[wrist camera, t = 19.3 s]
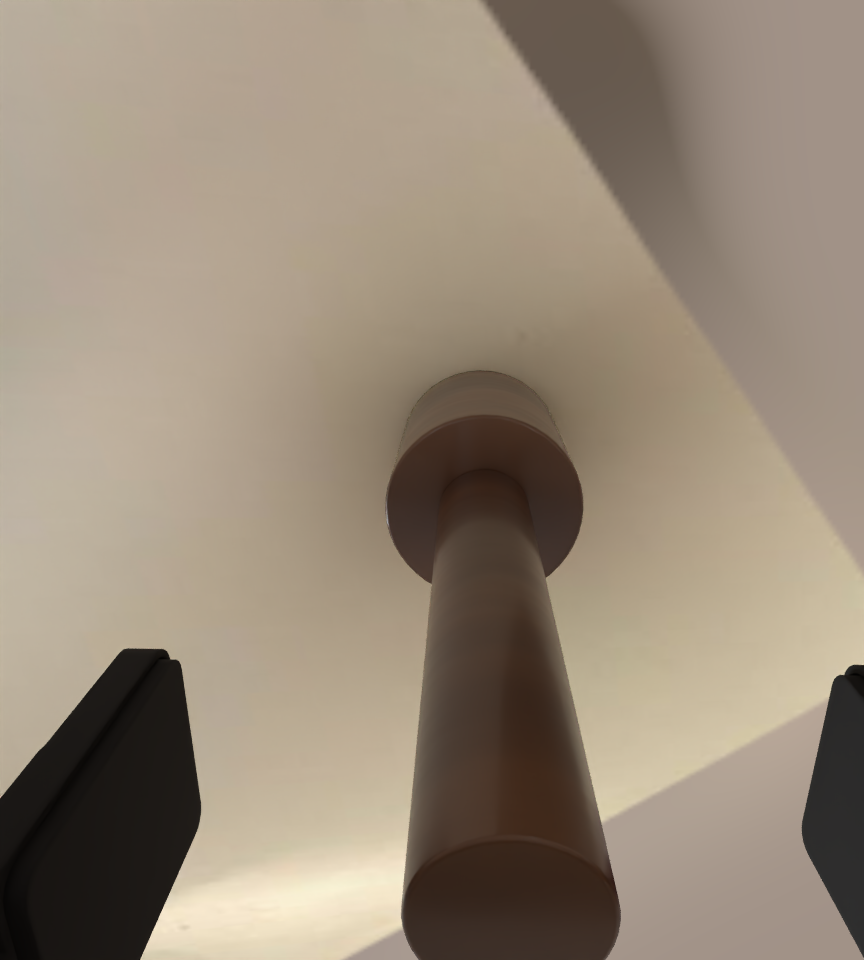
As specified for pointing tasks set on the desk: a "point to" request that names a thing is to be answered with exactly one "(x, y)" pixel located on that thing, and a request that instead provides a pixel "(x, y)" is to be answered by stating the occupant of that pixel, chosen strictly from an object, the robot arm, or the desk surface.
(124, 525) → the desk surface
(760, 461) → the desk surface
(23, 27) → the desk surface
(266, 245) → the desk surface
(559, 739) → the pestle
